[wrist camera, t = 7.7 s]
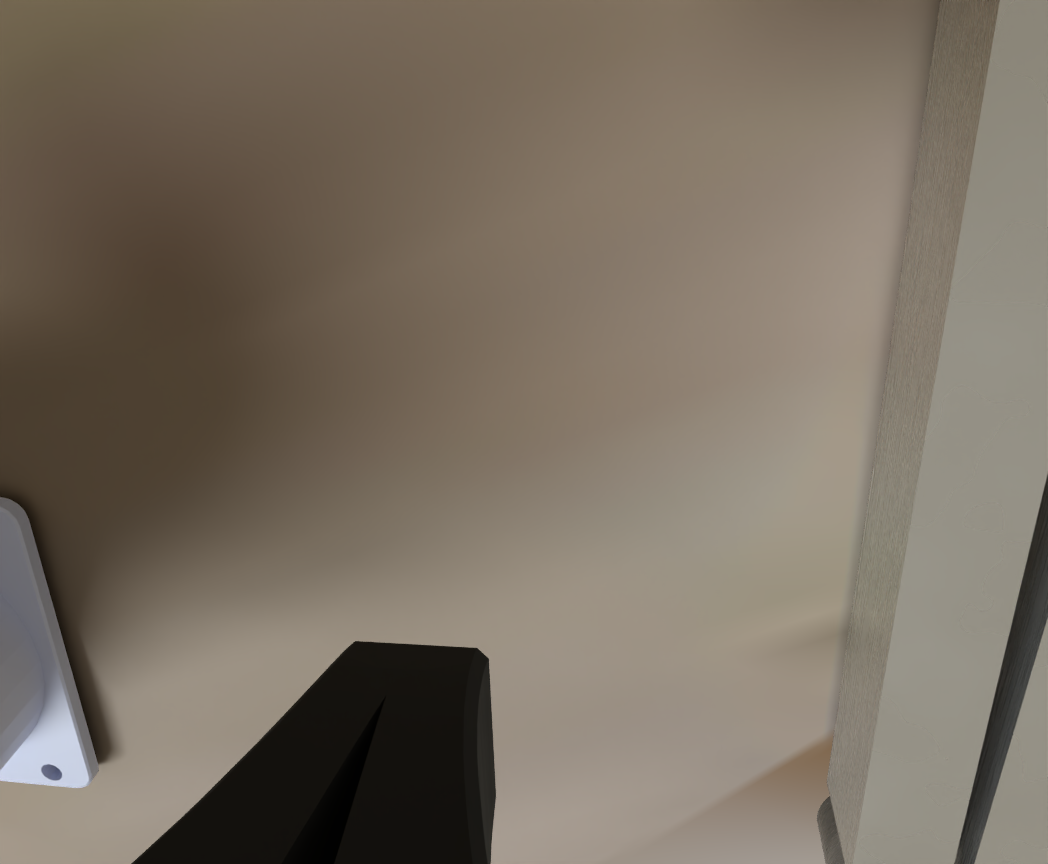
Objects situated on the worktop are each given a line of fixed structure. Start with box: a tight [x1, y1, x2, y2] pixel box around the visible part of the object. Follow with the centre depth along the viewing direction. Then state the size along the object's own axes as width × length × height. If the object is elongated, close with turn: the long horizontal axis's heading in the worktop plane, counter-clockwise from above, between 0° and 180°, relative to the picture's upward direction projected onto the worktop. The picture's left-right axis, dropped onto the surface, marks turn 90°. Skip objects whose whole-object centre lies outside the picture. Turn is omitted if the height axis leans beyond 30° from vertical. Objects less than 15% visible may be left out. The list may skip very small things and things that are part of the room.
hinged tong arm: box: [817, 0, 1048, 864], centre depth 15 cm, size 22×2×3 cm, turn 2°
